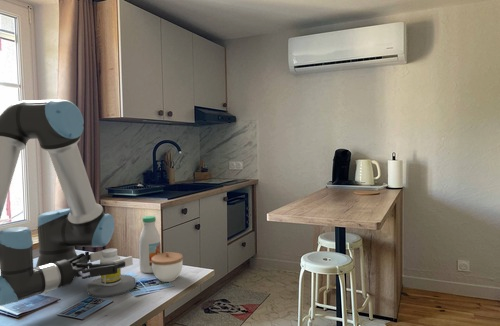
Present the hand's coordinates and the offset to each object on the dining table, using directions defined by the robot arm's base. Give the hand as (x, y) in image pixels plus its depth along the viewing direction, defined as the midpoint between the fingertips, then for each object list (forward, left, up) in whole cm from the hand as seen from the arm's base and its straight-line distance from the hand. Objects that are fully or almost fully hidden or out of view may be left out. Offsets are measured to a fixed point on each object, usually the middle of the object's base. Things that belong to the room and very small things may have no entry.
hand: (119, 256), depth 125 cm
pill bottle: (0, -4, -8) cm, 9 cm away
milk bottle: (-3, +15, -10) cm, 18 cm away
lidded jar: (+9, +13, -10) cm, 18 cm away
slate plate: (0, -3, -9) cm, 10 cm away
